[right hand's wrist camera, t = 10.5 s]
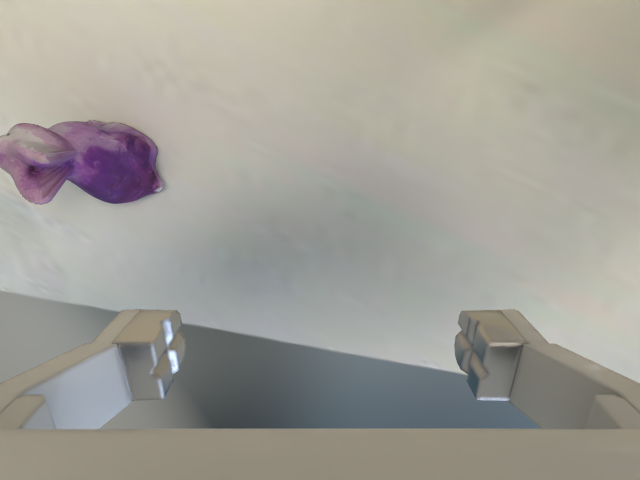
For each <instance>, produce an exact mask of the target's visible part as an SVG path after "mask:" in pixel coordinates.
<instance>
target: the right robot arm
mask: <svg viewBox="0 0 640 480" xmlns="http://www.w3.org/2000/svg"><path fill="white" fill-rule="evenodd" d="M181 324H182V321H181V316H180V313H179V312H178V311H177V310H141V309H135V310H123V311H121V312H120V313H119V314H118V315H117V316H116V317H115V318H114V319H113V321H112V322H111V323H110V324H109V325H108V326H107V327H106V328H105V329H104V330H103V331H102V332H101V333H100V334H99V335H98V336H97V338H96V339H95V340H94V341H93V342H92V343H91V344H83V345H81V346H79V347H77V348H75V349H73V350H71V351H68V352H66V353H64V354H62V355H60V356H58V357H56V358H54V359H51V360H49V361H47V362H45V363H43V364H41V365H39V366H37V367H34V368H32V369H30V370H28V371H26V372H24V373H22V374H19V375H17V376H15V377H13V378H11V379H9V380H7V381H4V382H2V383H0V480H640V383H637V382H635V381H633V380H631V379H629V378H627V377H625V376H623V375H620V374H618V373H616V372H614V371H612V370H610V369H608V368H606V367H603V366H601V365H599V364H597V363H595V362H593V361H591V360H589V359H586V358H584V357H582V356H580V355H578V354H576V353H574V352H572V351H569V350H567V349H565V348H563V347H561V346H559V345H557V344H549V343H548V342H547V341H546V340H545V339H544V337H543V336H542V335H541V334H540V333H539V332H538V331H537V330H536V329H535V328H534V327H533V326H532V325H531V324H530V323H529V322H528V320H527V319H526V318H525V317H524V316H523V315H522V314H521V313H520V312H519V311H517V310H515V309H507V310H478V311H461V313H460V315H459V320H458V324H459V326H460V327H461V329H462V330H461V331H460V332H459V333H458V334H457V335H456V338H455V346H454V347H455V356H456V360H457V363H458V365H459V367H460V369H461V370H462V371H464V372H465V373H467V374H468V377H467V382H468V384H469V386H470V388H471V390H472V392H473V394H474V396H475V398H476V399H477V400H507V401H509V403H511V404H512V405H513V406H514V407H516V408H517V409H518V410H519V411H520V412H522V413H523V414H524V415H525V416H527V417H528V418H529V419H530V420H532V421H533V422H534V423H535V424H536V425H538V426H539V427H540V428H541V429H99V428H100V427H101V426H102V425H104V424H105V423H106V422H107V421H109V420H110V419H111V418H112V417H114V416H115V415H116V414H117V413H119V412H120V411H121V410H122V409H123V408H125V407H126V406H127V405H128V404H130V403H131V401H133V400H163V399H164V398H165V396H166V394H167V392H168V390H169V388H170V386H171V384H172V383H173V377H172V374H173V373H175V372H176V371H178V370H179V369H180V367H181V365H182V363H183V360H184V355H185V338H184V335H183V334H182V333H181V332H180V331H179V330H178V329H179V327H180V326H181Z"/></svg>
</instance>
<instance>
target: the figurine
mask: <svg viewBox="0 0 640 480" xmlns="http://www.w3.org/2000/svg"><path fill="white" fill-rule="evenodd" d="M156 155H157V148H156V146H155V144H154V143H153V141H152V140H151V139H150V138H149V137H147V136H146V135H144V134H143V133H141V132H139V131H137V130H135V129H133V128H131V127H129V126H127V125H124V124H121V123H115V122H111V123H108V124H107V123H103V122H99V121H95V120H89V121H88V122H78V121H73V122H62V123H58V124H56V125H53V126H52V127H50V128H48V129H46V128H43V127H41V126H38V125H35V124H29V123H21V124H17V125H15V126H13V127H12V128H11V129H10V130H9V132H8V133H7V134H6V135H2V136H0V168H2V169H3V170H4V171H6V172H7V173H8V174H10V175H11V177H12V178H13V180H14V182H15V185H16V187H17V188H18V190H19V192H20V194H22V196H23V197H24V198H25V199H26V200H28V201H29V202H31V203H35V204H40V205H42V204H45V203H48V202H50V201H51V200H52V199H53V197H54V196H55V195H56V193H57V192H58V190H59V189H60V188H61V186H62V185H63V184H64V182H65V181H66V179H67V180H69V181H71V182H72V183H74V184H75V185H77V186H78V187H80V188H81V189H82V190H84V191H85V192H87V193H88V194H90V195H92V196H93V197H95V198H97V199H100V200H102V201H105V202H108V203H114V204H118V203H127V202H132V201H135V200H138V199H140V198H142V197H144V196H146V195H150V194H153V193H157V192H159V191H161V190H162V189H163V181H162V180H161V178H160V176H159V174H158V173H157V171H156V168H155V158H156Z"/></svg>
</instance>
